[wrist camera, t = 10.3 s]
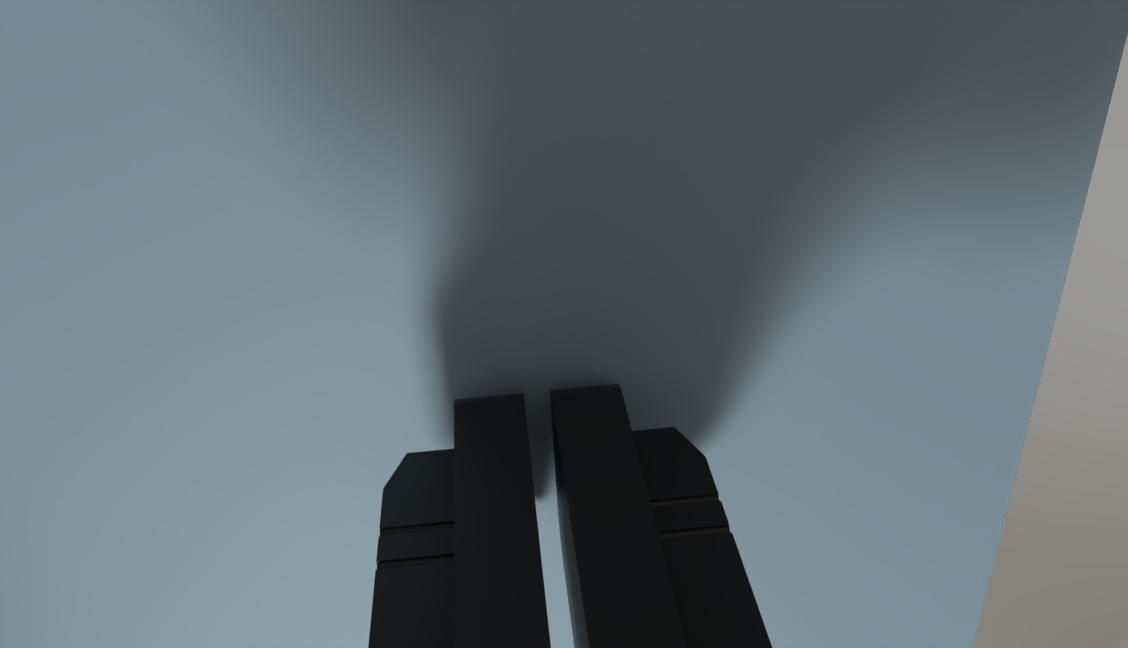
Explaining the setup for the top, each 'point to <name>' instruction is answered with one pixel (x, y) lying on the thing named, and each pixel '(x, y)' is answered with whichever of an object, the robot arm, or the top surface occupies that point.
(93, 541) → the lid
